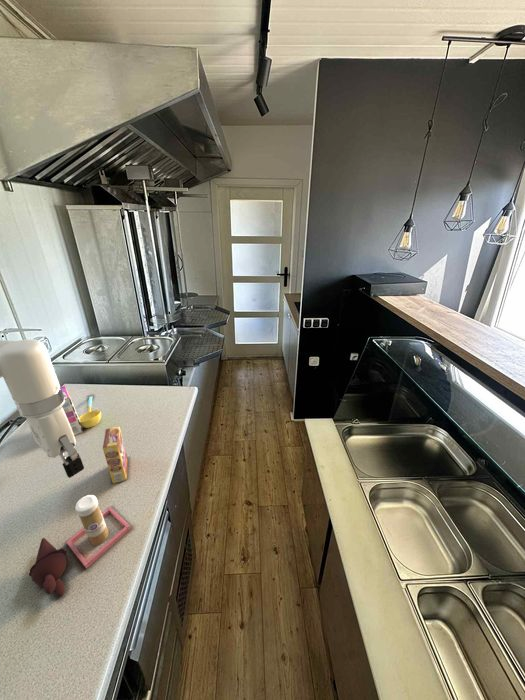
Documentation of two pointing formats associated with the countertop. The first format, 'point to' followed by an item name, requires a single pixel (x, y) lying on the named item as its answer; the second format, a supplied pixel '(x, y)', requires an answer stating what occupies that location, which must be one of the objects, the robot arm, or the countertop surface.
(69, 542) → the pink rectangular frame
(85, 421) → the ladle
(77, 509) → the sprinkles bottle
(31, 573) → the icecream
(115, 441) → the candy box
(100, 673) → the countertop surface
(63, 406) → the candy bar box
